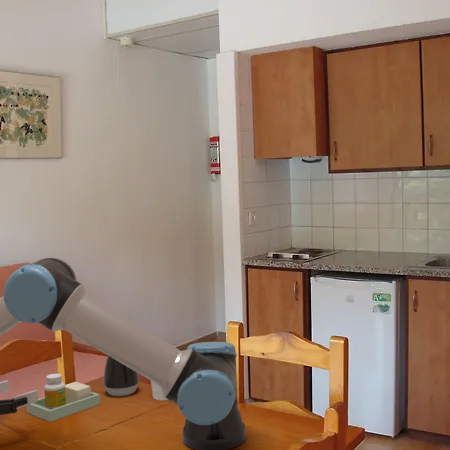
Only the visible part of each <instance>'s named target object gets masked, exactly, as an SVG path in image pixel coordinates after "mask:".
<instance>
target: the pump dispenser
mask: <svg viewBox="0 0 450 450" xmlns="http://www.w3.org/2000/svg"><path fill="white" fill-rule="evenodd" d="M139 375H140V374H139V373H137V372H135V371H134V370H132V369H130V368H129V367H127V366H125V365H124V364H122V363H120V362H118V361H117V360H115V359H113V358H112V357H110V356H108V355H107V358H106V362H105V366H104V372H103V381H102V382H103V386H104V388H105V390H106V393H108V395H110V396H112V397H126V396H131V395H132V394H134V393H135V392H136V390H137V388H138V385H139V383H140V376H139Z"/></svg>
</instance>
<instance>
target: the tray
mask: <svg viewBox="0 0 450 450" xmlns="http://www.w3.org/2000/svg"><path fill="white" fill-rule="evenodd" d="M99 405H101V393H100V394H99V393H96V392H94V391H91V396H89V397H87V398H84V399H81V400H78V401H75V402H72V403H69V404H66V405H63V406H60V407H57V408H54V409H51V410H50V409H48V408H46V407H45V396H43V397H40V398H38V401H37V402H34V403H31V404H28V405H26V413H27V414H29V415H31V416H34V417H36V418H38V419H42V420H43V421H47V422H50V423H51V422H54V421H57V420H59V419H62V418H65V417H68V416H71V415H75V414H76V413H80V412H83V411H85V410H88V409H91V408H93V407H97V406H99Z"/></svg>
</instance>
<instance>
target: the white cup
mask: <svg viewBox="0 0 450 450" xmlns="http://www.w3.org/2000/svg"><path fill="white" fill-rule="evenodd" d="M150 385H151V391H152V398H153V400H156V401H169V400H168V399H167V398H165V397H164V396H163V392H162V389H161V387H160V386H159V385H157V384H156V383H154V382H152V381H151V380H150ZM170 402H172V401H170ZM172 403H173V402H172Z"/></svg>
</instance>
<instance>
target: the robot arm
mask: <svg viewBox="0 0 450 450" xmlns="http://www.w3.org/2000/svg"><path fill="white" fill-rule="evenodd" d="M7 278H8V279H7V280H6V282H5V284H4V287H3V296H1V297H0V336H2V335H3V334H5V333H7V332H8V331H10V330H11V329H13V328H14V327H17V325H19V324H20V323H26V324H36V323H37V324H39V325H41V326H43V327H45V328H46V329H48V330H49V331H50V332H51V331H52V332H54V333H55V332H58V331H65V332H68V333H69V334H70V335H73V336H75V338H78V339H79V340H81V341H83V342H85V343H87V344H88V345H89V346H92V347H93V348H94V349H96V350H98V351H99V352H101V353H103V354H105V355H106V356H107V357H108V356H110V357H112V358H113V359H115V360H117V361H118V362H120V363H122V364H124V365H125V366H127V367H129V368H130V369H132V370H134V371H135V372H137V373H138V375H141V376H143V377H144V378H145V379H147V380H149V381H150V382H151V381H152V382H154V383H156V384H157V385H159V386H160V387H161V389H162V392H163V396H164V397H165V398H167V399H168V400H167V401H170V402H171V401H172V403H174V404H175V405H177V407H178V408H179V412H180V413H181V414H182V416H183V417H184V418H185V421H184V426H183V428H182V442H183V444H184V445H185V446H186V447H188V448H189V449H193V450H231V449H234V448H237V447H239V446H241V445H242V444H243V443H244V442H245V441H246V439H247V430H246V429H247V427H246V425H245V423H244V422H243V418H242V414H241V412H240V409H239V406H238V382H237V380H238V378H237V377H238V376H237V372H238V371H237V357H238V356H237V355H238V354H237V352H236V346H235V344H233V343H231V342H227V341H226V342H225V341H204V342H203V341H202V342H196V343H192V344H189V345H188V346H187V348H186V349H184V350H180V349H179V348H177V347H175V346H174V345H171V344H170V343H168V342H166V341H165V340H163V339H162V338H160V337H158V336H156V335H155V334H153V333H152V332H149V330H146V329H144V328H143V327H141V326H140V325H138V324H136V323H134V322H133V321H131V320H129V319H128V318H126V317H124V316H122V315H121V314H119V313H117V312H116V311H114V310H112V309H111V308H109V307H107V306H105V305H104V304H102V303H101V302H99V301H97V300H96V299H94V298H92V297H91V296H89V295H87V294H86V290H85V288H84V287H85V286H84V285H83V284H82V283H80V282H79V281H77V277H76V274H75V272H74V269H73V268H72V267H71V266H70V265H69V264H68V263H67V262H65V261H64V260H62V259H59V258H57V257H45V258H42V259H40V260H37V261H34V262H32V263H29V264H24V265H22V266H20V267H19V268H17V270H15V271H14V272H13V273H11V274H10V275H9V277H7ZM7 392H10V381H9V380H4V381H0V394H4V393H7ZM38 396H39V395H38V390H36V389H34V390H32V391H28V392H25V393H21V394H19V395H15V396H12V397H11V399H10V398H8V399H0V416H3V415H9V414H16V413H18V408H21V407H25V406H27V405H28V404H31V403H34V402H37V401H38V399H39V397H38Z"/></svg>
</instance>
